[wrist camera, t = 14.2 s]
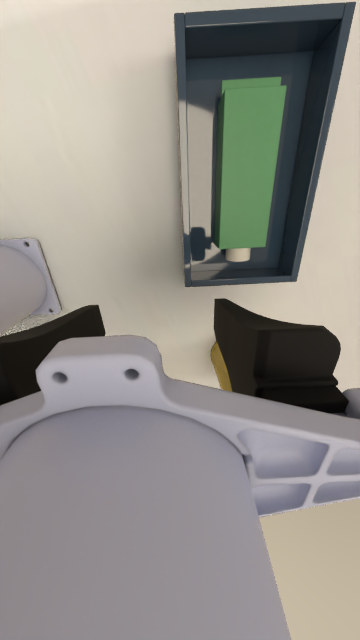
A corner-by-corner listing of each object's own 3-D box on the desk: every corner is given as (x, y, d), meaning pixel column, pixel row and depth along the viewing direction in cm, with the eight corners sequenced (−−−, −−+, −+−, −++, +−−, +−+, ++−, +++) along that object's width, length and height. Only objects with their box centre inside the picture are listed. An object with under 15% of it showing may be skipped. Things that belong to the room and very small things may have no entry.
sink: (183, 276, 23) (184, 287, 20) (174, 52, 15) (173, 12, 12) (279, 271, 23) (296, 281, 20) (318, 43, 15) (356, 0, 12)
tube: (254, 255, 21) (263, 261, 19) (213, 257, 21) (218, 263, 19) (272, 87, 16) (289, 66, 13) (218, 90, 16) (225, 70, 13)
